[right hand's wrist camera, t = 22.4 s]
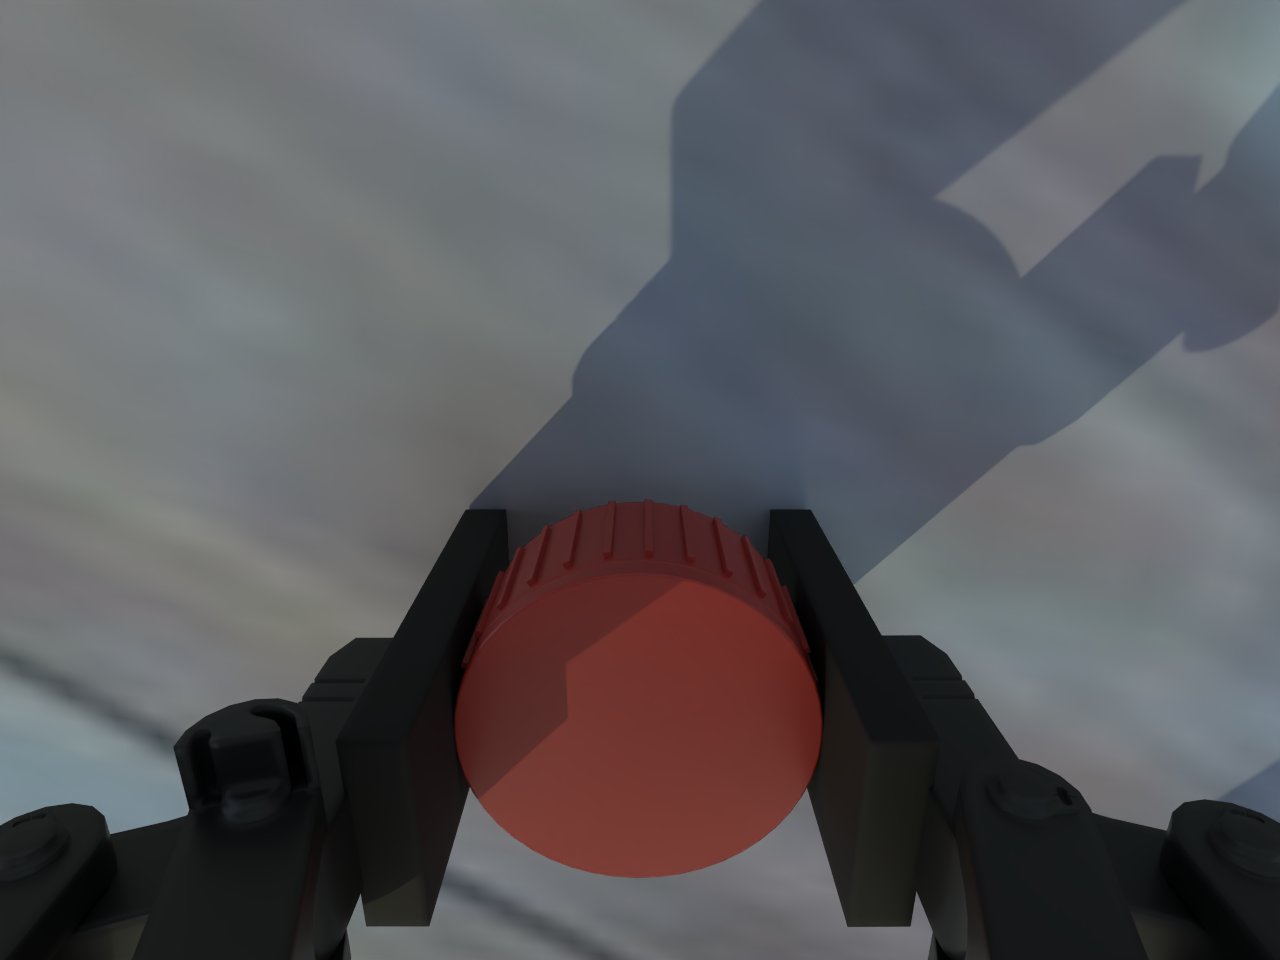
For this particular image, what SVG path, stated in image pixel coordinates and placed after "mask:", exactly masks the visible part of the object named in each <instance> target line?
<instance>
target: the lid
mask: <svg viewBox="0 0 1280 960" xmlns="http://www.w3.org/2000/svg"><path fill="white" fill-rule="evenodd" d="M808 653H811V650H810V647H809V645H808V642H807V639H806V637H805V634H804V631H803V629H802V626H801V623H800V621H799V618H798V615H797V613H796V610H795V607H794V605H793V602H792V599H791V597H790V594H789V591H788V589H787V587H786V585H785V586H782V587H781V586H780V583H779V580H778V577H777V574H776V572H775V569H774V566H773V563H772V562H771V560H770V559H769V558H768V559H766V560H765V559H764V558H763V557H762V556H761V555H760V554H759V553H758V552H757V550H756V549H755V548H754V547H753V546H752V545H751V542H750V539H749V538H748V537H747V536H746V535H744V536H743V537H741V536H740V535H739V534H738V533H736V532H735V531H733V530H731V529H730V528H728V527H727V526H725V525H724V524H722V522H721V519H719V518H717V517H715V518H714V519H712V518H710V517H708V516H706V515H704V514H701V513H698V512H695V511H692V510H689V509H688V506H685V505H681V507H678V506H673V505H667V504H662V503H652V500H645V502H628V503H615V501H612V502H608V505H605V506H599V507H595V508H592V509H589V510H586V511H582V512H581V511H580V510H576V511H574V512H573V515H572V516H570V517H568V518H565V519H563V520H561V521H559V522H557V523H556V524H554V525H552V526H551V527H549V525H546V526H544V527H543V528H542V531H541V533H540V534H539V535H538V536H536V537H535V538H534V539H533V540H532V541H530V542H529V543H528V544H527V545H526V546H525V547H524V548H523V547H522V546H519V547H518V548H517V550H516V552H515V555H514V558H513V560H512V562H511V563H510V565H509V566H508V568H507V569H506V570H505V572H502V571H499V573H498V575H497V577H496V579H495V582H494V585H493V587H492V590H491V592H490V595H489V598H488V599H486V601H485V604H484V607H483V609H482V612H481V614H480V617H479V619H478V622H477V625H476V627H475V630H474V632H473V635H472V637H471V640H470V643H469V645H468V648H467V650H466V653H465V655H464V658H463V661H462V664H461V668H463V669H465V672H464V674H463V677H462V681H461V684H460V687H459V690H458V693H457V698H456V704H455V711H454V737H455V743H456V749H457V755H458V758H459V761H460V764H461V767H462V770H463V773H464V776H465V778H466V780H467V782H468V784H469V786H470V788H471V790H472V792H473V793H474V795H475V796H476V798H477V799H478V800H479V802H480V803H481V805H482V806H483V808H484V809H485V810H486V811H487V812H488V814H489V815H490V816H491V817H492V818H493V819H494V820H495V821H496V822H497V823H498V824H499V825H500V826H501V827H502V828H503V829H504V830H506V831H507V832H508V833H509V834H510V835H511V836H513V837H514V838H515V839H517V840H518V841H520V842H521V843H523V844H524V845H526V846H527V847H529V848H530V849H532V850H534V851H536V852H538V853H539V854H541V855H543V856H545V857H547V858H549V859H551V860H554V861H556V862H559V863H562V864H564V865H567V866H569V867H572V868H576V869H580V870H584V871H587V872H591V873H596V874H602V875H609V876H615V877H632V878H644V877H662V876H669V875H676V874H682V873H686V872H690V871H694V870H698V869H702V868H705V867H708V866H711V865H713V864H716V863H719V862H722V861H724V860H726V859H728V858H730V857H732V856H734V855H736V854H738V853H740V852H742V851H744V850H745V849H747V848H749V847H750V846H752V845H753V844H755V843H757V842H758V841H760V840H761V839H762V838H763V837H765V836H766V835H767V834H768V833H770V832H771V831H772V830H773V829H774V828H776V827H777V826H778V825H779V824H780V823H781V821H782V820H783V819H784V818H785V817H786V816H787V815H788V814H789V813H790V812H791V811H792V809H793V808H794V806H795V805H796V804H797V802H798V801H799V800H800V798H801V797H802V795H803V793H804V792H805V790H806V788H807V786H808V784H809V782H810V780H811V778H812V776H813V773H814V770H815V767H816V765H817V762H818V759H819V754H820V749H821V743H822V734H823V714H822V706H821V698H820V695H819V691H818V688H817V683H818V679H817V676H816V673H815V671H814V668H813V665H812V663H811V660H810V658H809V655H808Z"/></svg>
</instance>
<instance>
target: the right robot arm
mask: <svg viewBox="0 0 1280 960" xmlns="http://www.w3.org/2000/svg"><path fill="white" fill-rule="evenodd" d="M768 558H769V559H770V560H771V562H772V563H773V566H774V569H775V572H776V574H777V577H778V580H779V583H780V586H781V587H782V586H785V585H786V587H787V589H788V591H789V594H790V597H791V599H792V602H793V605H794V607H795V610H796V613H797V615H798V618H799V621H800V623H801V626H802V629H803V631H804V634H805V637H806V639H807V642H808V645H809V647H810V650H811V653H808V655H809V658H810V660H811V663H812V665H813V668H814V671H815V673H816V676H817V679H818V683H817V688H818V691H819V695H820V698H821V706H822V714H823V734H822V743H821V749H820V754H819V759H818V762H817V765H816V767H815V770H814V773H813V776H812V778H811V780H810V782H809V784H808V786H807V789H808V793H809V796H810V799H811V803H812V806H813V810H814V813H815V816H816V820H817V823H818V827H819V830H820V834H821V837H822V840H823V844H824V847H825V851H826V854H827V858H828V861H829V864H830V868H831V871H832V875H833V878H834V882H835V885H836V888H837V892H838V895H839V899H840V902H841V906H842V909H843V912H844V916H845V919H846V923H847V926H848V927H901V926H911V920H912V914H913V908H914V902H915V896H916V891H917V893H918V896H919V898H920V901H921V903H922V906H923V908H924V911H925V913H926V915H927V918H928V920H929V923H930V925H931V928H932V930H933V934H932V940H931V945H930V951H929V956H928V960H1280V823H1278V822H1276V821H1275V820H1273V819H1271V818H1269V817H1267V816H1265V815H1263V814H1262V813H1259V812H1256V811H1253V810H1251V809H1247V808H1244V807H1241V806H1238V805H1235V804H1232V803H1227V802H1220V801H1213V800H1205V799H1204V800H1197V801H1191V802H1184V803H1183V804H1182V805H1181V806H1179V807H1178V808H1177V809H1176V810H1175V811H1173V813H1172V816H1171V819H1170V822H1169V826H1168V829H1167V831H1165V830H1161V829H1156V828H1152V827H1148V826H1143V825H1139V824H1134V823H1130V822H1125V821H1121V820H1117V819H1112V818H1108V817H1105V816H1101V815H1098V814H1095V813H1092V811H1091V809H1090V807H1089V806H1088V804H1087V803H1086V801H1085V800H1084V798H1083V796H1082V795H1081V793H1080V792H1079V791H1078V790H1077V789H1076V788H1074V787H1073V786H1072V785H1071V784H1070V783H1068V782H1067V781H1066V780H1065V779H1063V778H1062V777H1061V776H1059V775H1057V774H1055V773H1054V772H1052V771H1050V770H1048V769H1046V768H1044V767H1042V766H1040V765H1038V764H1035V763H1031V762H1027V761H1024V760H1020V759H1018V757H1017V756H1016V754H1015V753H1014V751H1013V750H1012V748H1011V747H1010V746H1009V744H1008V743H1007V741H1006V740H1005V738H1004V737H1003V735H1002V734H1001V732H1000V731H999V729H998V728H997V727H996V725H995V724H994V722H993V721H992V719H991V718H990V716H989V715H988V713H987V712H986V711H985V709H984V708H983V706H982V705H981V703H980V702H979V700H978V699H975V697H974V693H973V692H972V690H971V689H970V687H969V686H968V684H967V683H966V681H965V680H962V675H961V674H960V673H959V671H958V670H957V668H956V667H955V665H954V664H953V662H952V661H951V659H950V658H949V657H948V655H947V654H946V653H945V652H943V651H942V650H940V649H939V648H938V647H936V646H935V645H933V644H932V643H931V642H929V641H928V640H926V639H925V638H924V637H922V636H921V635H898V636H882V635H881V633H880V632H879V630H878V628H877V626H876V625H875V623H874V621H873V619H872V618H871V616H870V614H869V612H868V610H867V609H866V607H865V605H864V603H863V602H862V600H861V598H860V596H859V595H858V593H857V591H856V589H855V587H854V586H853V584H852V582H851V580H850V579H849V577H848V575H847V573H846V571H845V570H844V568H843V566H842V564H841V563H840V561H839V559H838V557H837V556H836V554H835V552H834V550H833V548H832V547H831V545H830V543H829V541H828V540H827V538H826V536H825V534H824V533H823V531H822V529H821V527H820V525H819V524H818V522H817V520H816V518H815V517H814V515H813V513H812V511H811V510H771V511H770V527H769V542H768ZM768 558H767V559H768ZM508 566H509V552H508V536H507V521H506V510H465V512H464V514H463V515H462V517H461V519H460V521H459V522H458V524H457V526H456V528H455V530H454V531H453V533H452V535H451V537H450V538H449V540H448V542H447V544H446V545H445V547H444V549H443V551H442V553H441V554H440V556H439V558H438V560H437V561H436V563H435V565H434V567H433V568H432V570H431V572H430V574H429V576H428V577H427V579H426V581H425V583H424V584H423V586H422V588H421V590H420V592H419V593H418V595H417V597H416V599H415V600H414V602H413V604H412V606H411V607H410V609H409V611H408V613H407V615H406V616H405V618H404V620H403V622H402V623H401V625H400V627H399V629H398V630H397V632H396V634H395V636H394V638H355V639H354V640H352V641H351V642H350V643H348V644H347V645H345V646H344V647H343V648H341V649H340V650H338V651H337V652H336V653H334V654H333V655H331V656H330V657H329V659H328V660H327V662H326V663H325V664H324V666H323V667H322V669H321V670H320V672H319V673H318V675H317V676H316V678H315V683H312V684H311V685H310V687H309V688H308V689H307V691H306V692H305V694H304V695H303V697H302V702H299V703H298V704H297V703H295V702H291V701H287V700H283V699H279V698H277V699H255V700H250V701H246V702H242V703H238V704H234V705H230V706H228V707H225V708H223V709H221V710H219V711H217V712H214V713H212V714H210V715H208V716H205V717H204V718H203V719H201V720H200V721H199V722H197V723H196V724H194V725H193V726H192V727H190V728H189V729H188V730H186V731H185V732H184V734H183V735H182V736H181V738H180V739H179V740H178V742H177V743H176V744H175V746H174V751H175V755H176V759H177V763H178V767H179V771H180V775H181V779H182V782H183V786H184V790H185V794H186V798H187V802H188V806H189V812H188V815H187V816H184V817H180V818H177V819H174V820H170V821H167V822H162V823H158V824H154V825H149V826H145V827H140V828H136V829H132V830H127V831H123V832H119V833H114V834H110V833H109V830H108V826H107V823H106V820H105V817H104V815H102V814H101V813H100V812H99V811H98V810H97V809H95V808H94V807H93V806H87V805H81V804H74V803H71V804H63V805H56V806H49V807H44V808H41V809H38V810H35V811H32V812H30V813H26V814H24V815H21V816H18V817H15V818H13V819H12V820H10V821H8V822H6V823H4V824H2V825H0V960H351V953H350V946H349V940H348V934H347V926H348V923H349V921H350V918H351V916H352V913H353V911H354V908H355V906H356V903H357V901H358V899H359V896H360V894H361V897H362V903H363V909H364V915H365V921H366V926H429V925H430V922H431V918H432V915H433V911H434V908H435V904H436V901H437V898H438V894H439V891H440V887H441V884H442V880H443V877H444V874H445V870H446V867H447V863H448V860H449V856H450V853H451V850H452V846H453V843H454V839H455V836H456V832H457V829H458V826H459V822H460V819H461V815H462V812H463V808H464V805H465V801H466V798H467V795H468V791H469V788H470V786H469V784H468V782H467V780H466V778H465V776H464V773H463V770H462V767H461V764H460V761H459V758H458V755H457V749H456V743H455V737H454V711H455V704H456V698H457V693H458V690H459V687H460V684H461V681H462V677H463V674H464V672H465V669H463V668H461V664H462V661H463V658H464V655H465V653H466V650H467V648H468V645H469V643H470V640H471V637H472V635H473V632H474V630H475V627H476V625H477V622H478V619H479V617H480V614H481V612H482V609H483V607H484V604H485V601H486V599H488V598H489V595H490V592H491V590H492V587H493V585H494V582H495V579H496V577H497V575H498V573H499V571H502V572H505V570H506V569H507V568H508Z"/></svg>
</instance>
